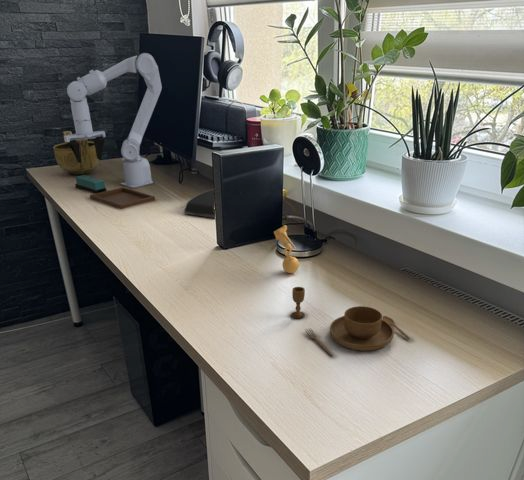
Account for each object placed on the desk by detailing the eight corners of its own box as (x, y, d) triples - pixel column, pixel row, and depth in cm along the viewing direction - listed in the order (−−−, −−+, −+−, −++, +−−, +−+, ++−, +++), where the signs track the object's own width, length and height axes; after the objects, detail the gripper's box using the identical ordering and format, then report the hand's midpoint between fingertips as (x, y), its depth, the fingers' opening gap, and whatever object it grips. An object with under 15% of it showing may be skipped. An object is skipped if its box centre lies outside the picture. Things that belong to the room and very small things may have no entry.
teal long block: (75, 187, 192) (73, 176, 190) (85, 185, 194) (83, 174, 192) (96, 194, 184) (94, 183, 182) (106, 192, 186) (104, 180, 184)
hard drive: (181, 214, 163) (180, 201, 161) (213, 198, 178) (212, 186, 176) (217, 219, 158) (216, 206, 156) (246, 203, 173) (246, 190, 171)
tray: (123, 191, 187) (122, 186, 186) (155, 200, 176) (154, 196, 176) (90, 199, 179) (89, 194, 178) (121, 209, 168) (120, 205, 167)
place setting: (335, 363, 91) (338, 334, 88) (286, 314, 106) (286, 288, 103) (417, 342, 96) (422, 314, 93) (359, 298, 112) (361, 273, 109)
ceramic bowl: (110, 175, 207) (103, 135, 199) (67, 182, 199) (59, 140, 191) (92, 165, 222) (85, 127, 214) (51, 171, 214) (43, 132, 206)
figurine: (307, 276, 122) (309, 227, 116) (285, 282, 119) (286, 232, 113) (288, 264, 128) (288, 217, 122) (267, 270, 126) (266, 221, 119)
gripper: (66, 123, 174) (75, 165, 181) (106, 119, 182) (113, 159, 189) (58, 121, 178) (66, 162, 185) (97, 116, 186) (104, 156, 193)
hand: (89, 160), depth 187 cm, fingers open, 7 cm apart
